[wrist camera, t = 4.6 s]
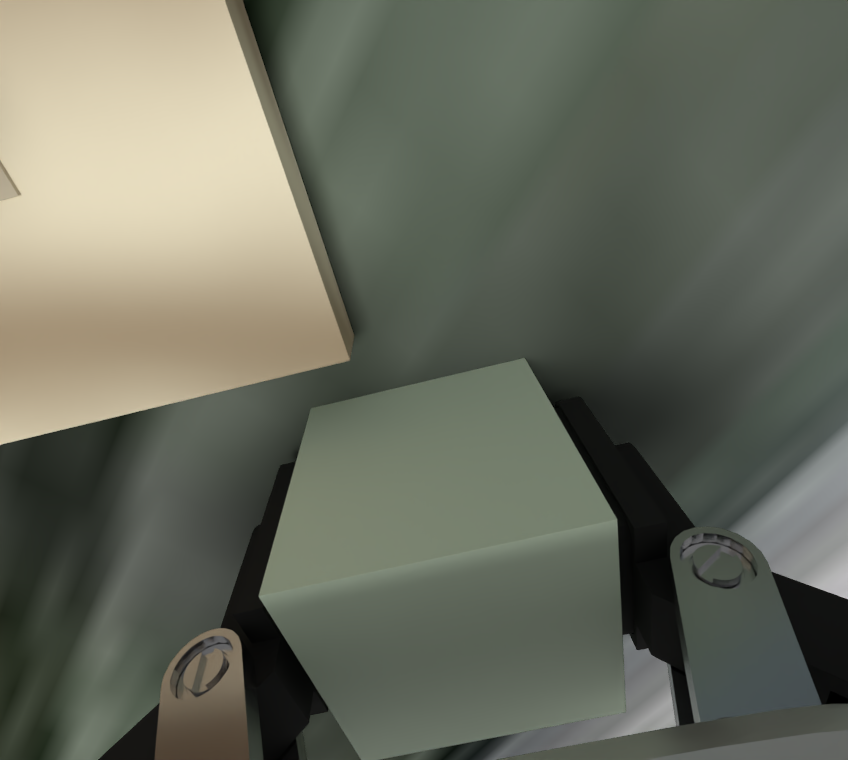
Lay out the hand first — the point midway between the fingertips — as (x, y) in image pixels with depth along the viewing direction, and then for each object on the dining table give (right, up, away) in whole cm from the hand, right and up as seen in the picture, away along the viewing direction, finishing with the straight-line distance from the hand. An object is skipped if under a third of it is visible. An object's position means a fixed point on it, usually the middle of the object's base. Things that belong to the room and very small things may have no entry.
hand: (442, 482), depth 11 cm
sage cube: (0, 0, +1) cm, 1 cm away
